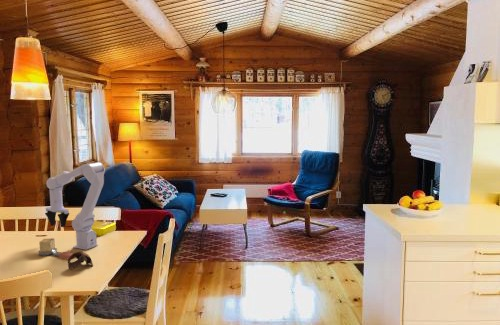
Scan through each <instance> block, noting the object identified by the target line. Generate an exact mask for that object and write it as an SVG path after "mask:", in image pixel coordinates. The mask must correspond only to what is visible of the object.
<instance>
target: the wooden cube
mask: <svg viewBox="0 0 500 325" xmlns="http://www.w3.org/2000/svg"><path fill="white" fill-rule="evenodd" d="M55 240H56V239H55V238H43V239H42V240H40V241H39V250H40V252H51V251H52V250H54V249H55V248H56V243H55Z"/></svg>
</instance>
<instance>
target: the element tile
mask: <svg viewBox="0 0 500 325" xmlns="http://www.w3.org/2000/svg"><path fill="white" fill-rule="evenodd" d="M116 224H117V223H116V222H111V221H98V220H96V221H95V220H94V224H93V225H92V228H91V229H92V230H93V231H95V232H96V237H103V236H105V235H107V233H108V234H110V233H112V232H114V231H116V229H117V226H116ZM109 232H110V233H109Z"/></svg>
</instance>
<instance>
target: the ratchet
mask: <svg viewBox="0 0 500 325" xmlns="http://www.w3.org/2000/svg"><path fill="white" fill-rule="evenodd" d="M72 254H73V252H69V251H63V252H62V251H61V252H60V251H58V249H57V247H55V249H54V250H52V251H51V252H40V249H39V250H38V256H39V257H49V256H53V257H56V258H61V259H65V258H66V259H67V260H68V258H69V257H70V256H71V255H72ZM74 259H77V258H76V256H75V257H73V258H72V259H71V260H74Z"/></svg>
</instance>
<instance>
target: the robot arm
mask: <svg viewBox="0 0 500 325" xmlns="http://www.w3.org/2000/svg"><path fill="white" fill-rule="evenodd" d="M105 173H106V169H105V166H104V164H103V163H102V162H100V161H97V162H92V163H84V164H83V165H80V166H79V167H76V168H75V169H72V170H71V171H66V170H63V171H61V173H60V174H56V175H55V176H54V177H49V178H48V179H47V180H46V187H47V188H48V190H49V202H50V206H48V207H45V216H46V217H47V219H48V221H49V224H50V226H55V225H56V216H57V217H58V219H59V223H60V227H61V228H64V227H66V224H67V220H68V217H69V216H70V212H69V209H67V208H65V207H64V204H63V188H64V185H66V184H67V185H68V184H69V183H71V182H72V181H73V179H74V178H76V177H78V176H82V175H83V177H85V179H86V180H87V181H88V182H89V183H90V186H89V188H88V192H87V194H86V196H85V197H86V198H85V199H84V202H83V205H82V207H81V210H80V212H78V213H77V214H76V216H75V218H74V219H72V221H71V226H72V228H73V230H74V232H75V238H76V241H75V242H76V245H73V246H72V248H73V249H74V248H75V249H80V250H90V249H92V248H94V247H97V246H99V244H98V242H97V236H96V232H95V231H93V230H92V229H91V228H92V225H93V224H94V222H95V217H96V216H95V214H94V213H93V212H94V211H95V209H96V205H97V202H98V201H99V197H100V194H101V191H102V189H103V187H104V184H105V176H104V175H105ZM57 213H58V214H57Z"/></svg>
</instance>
